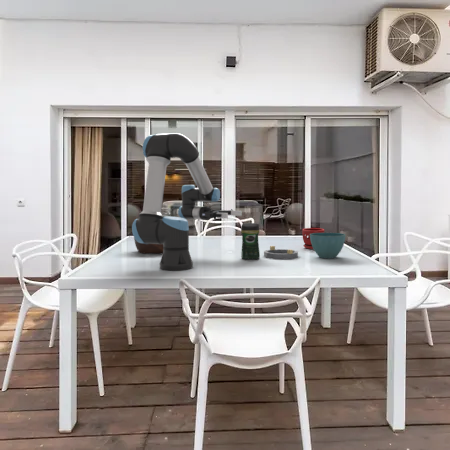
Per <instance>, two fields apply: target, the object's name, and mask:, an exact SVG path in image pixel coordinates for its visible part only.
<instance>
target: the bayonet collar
mask: <svg viewBox="0 0 450 450" xmlns="http://www.w3.org/2000/svg"><path fill="white" fill-rule="evenodd" d="M263 257H265V258H267V259H273V260H274V259H276V260H288V259H289V260H290V259H291V260H292V259H296V258H298V257H299V251H298V250H295V249H287V248H286V249H284V248H281V249H279V248H276V246H275V245H270V247H269V249H266V250H264V251H263Z"/></svg>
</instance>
